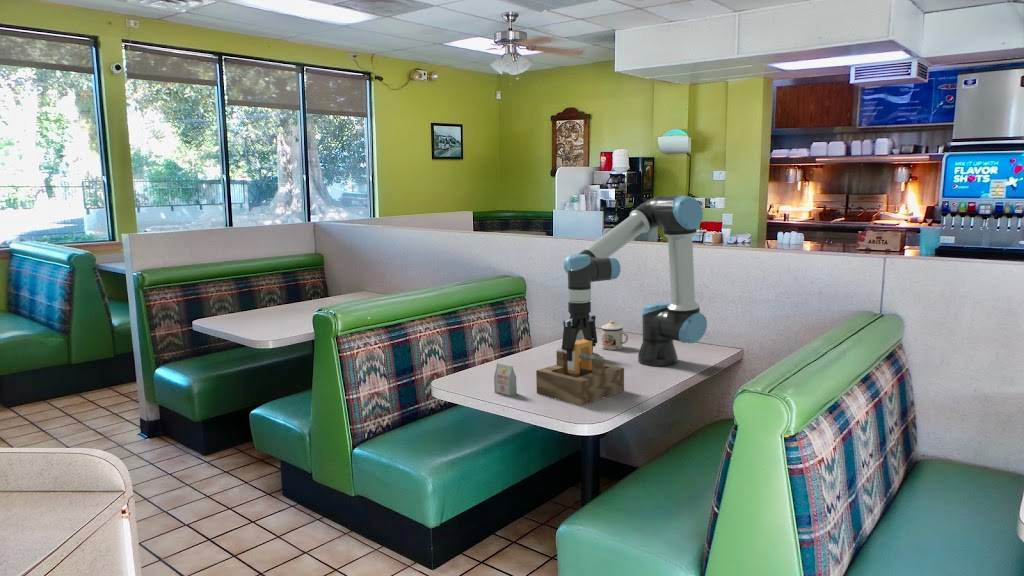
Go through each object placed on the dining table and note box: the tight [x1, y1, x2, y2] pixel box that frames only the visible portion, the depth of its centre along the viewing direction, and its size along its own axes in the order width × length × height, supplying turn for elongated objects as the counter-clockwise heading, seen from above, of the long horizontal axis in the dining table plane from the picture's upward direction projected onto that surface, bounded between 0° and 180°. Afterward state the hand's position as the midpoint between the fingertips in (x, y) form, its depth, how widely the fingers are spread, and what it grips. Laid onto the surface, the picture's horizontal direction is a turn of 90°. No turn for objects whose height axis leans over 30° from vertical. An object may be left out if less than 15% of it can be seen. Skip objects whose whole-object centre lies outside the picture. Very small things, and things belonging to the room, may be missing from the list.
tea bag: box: [493, 362, 518, 397], centre depth 239 cm, size 4×7×10 cm, turn 49°
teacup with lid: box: [601, 320, 629, 351], centre depth 297 cm, size 12×9×12 cm
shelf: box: [535, 347, 625, 407], centre depth 238 cm, size 22×20×14 cm
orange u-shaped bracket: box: [568, 339, 592, 374], centre depth 237 cm, size 8×4×10 cm, turn 133°
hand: (580, 367), depth 237 cm, fingers closed on orange u-shaped bracket, 8 cm apart
